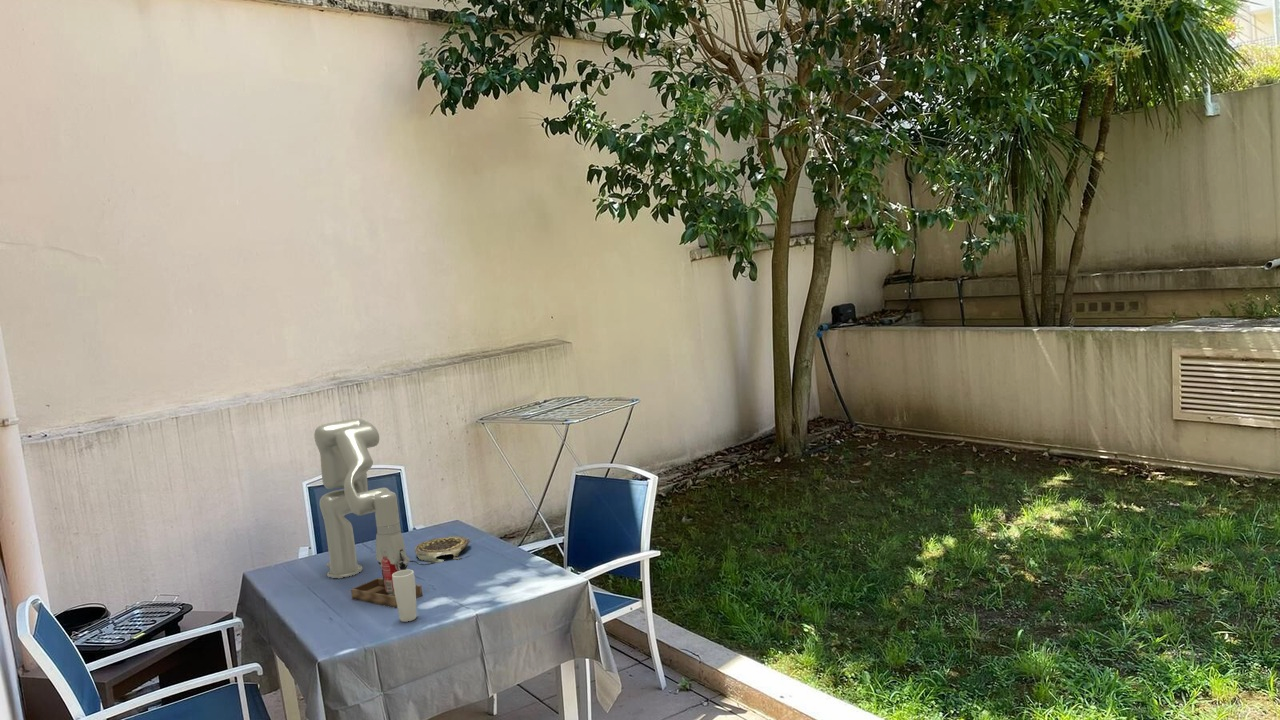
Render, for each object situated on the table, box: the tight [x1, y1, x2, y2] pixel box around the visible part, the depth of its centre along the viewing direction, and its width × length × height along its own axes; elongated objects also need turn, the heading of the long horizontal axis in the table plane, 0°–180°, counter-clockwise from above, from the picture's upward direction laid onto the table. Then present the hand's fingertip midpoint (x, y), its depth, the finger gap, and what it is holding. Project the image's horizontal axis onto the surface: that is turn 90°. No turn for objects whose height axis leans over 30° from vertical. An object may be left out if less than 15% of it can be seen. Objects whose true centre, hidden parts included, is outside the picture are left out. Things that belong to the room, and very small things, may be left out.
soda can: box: [381, 556, 402, 594], centre depth 288 cm, size 7×7×13 cm
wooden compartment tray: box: [350, 577, 423, 609], centre depth 292 cm, size 22×12×4 cm, turn 56°
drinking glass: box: [392, 569, 418, 623], centre depth 269 cm, size 7×7×15 cm
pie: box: [414, 536, 471, 566], centre depth 338 cm, size 28×27×5 cm
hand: (395, 579), depth 289 cm, fingers closed on soda can, 7 cm apart
